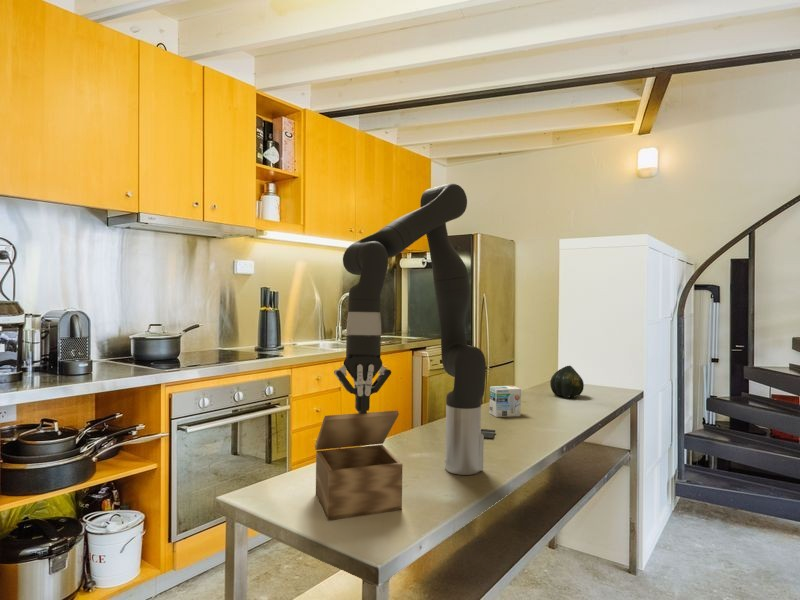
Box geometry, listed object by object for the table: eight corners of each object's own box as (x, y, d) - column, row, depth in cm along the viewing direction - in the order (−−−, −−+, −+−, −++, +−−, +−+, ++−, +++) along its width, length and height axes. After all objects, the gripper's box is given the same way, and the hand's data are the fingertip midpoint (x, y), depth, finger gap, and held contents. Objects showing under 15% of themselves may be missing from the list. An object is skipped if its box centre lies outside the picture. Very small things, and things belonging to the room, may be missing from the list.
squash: (552, 387, 221) (573, 362, 222) (539, 383, 236) (560, 359, 237) (574, 408, 222) (596, 383, 223) (561, 402, 237) (581, 379, 238)
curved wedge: (455, 431, 170) (455, 426, 170) (495, 434, 167) (495, 429, 167) (451, 437, 162) (451, 432, 162) (493, 441, 159) (493, 436, 159)
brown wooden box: (381, 485, 119) (382, 444, 119) (401, 509, 106) (402, 463, 106) (315, 494, 114) (316, 450, 114) (328, 520, 101) (329, 471, 100)
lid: (383, 443, 119) (382, 439, 120) (398, 414, 109) (397, 409, 110) (315, 450, 114) (314, 445, 114) (325, 420, 103) (324, 415, 104)
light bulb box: (495, 417, 188) (496, 389, 188) (488, 413, 195) (489, 386, 194) (521, 416, 191) (521, 388, 190) (513, 412, 197) (513, 385, 197)
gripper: (386, 333, 114) (385, 408, 113) (330, 332, 109) (328, 411, 108) (398, 333, 107) (396, 414, 106) (338, 333, 102) (336, 417, 101)
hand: (362, 412), depth 107 cm, fingers closed
